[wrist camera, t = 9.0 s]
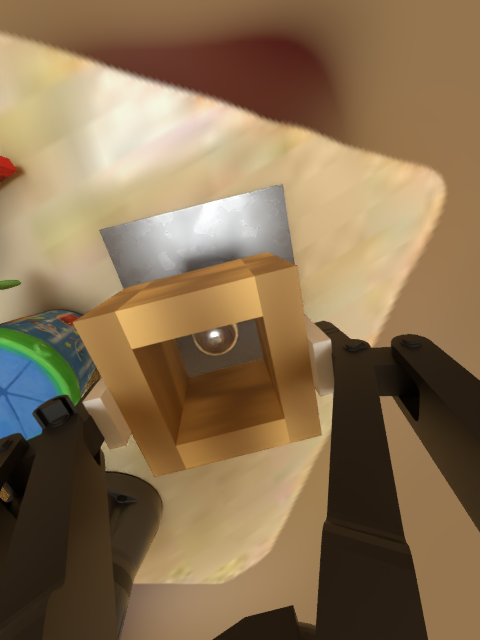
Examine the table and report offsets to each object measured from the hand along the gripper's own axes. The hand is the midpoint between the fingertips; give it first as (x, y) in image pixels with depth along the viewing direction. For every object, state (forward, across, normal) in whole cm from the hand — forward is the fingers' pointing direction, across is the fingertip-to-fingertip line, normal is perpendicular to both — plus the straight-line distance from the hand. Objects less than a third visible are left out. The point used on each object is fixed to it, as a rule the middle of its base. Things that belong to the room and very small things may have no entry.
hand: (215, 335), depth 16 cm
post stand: (+11, 0, 0) cm, 11 cm away
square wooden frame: (0, 0, 0) cm, 0 cm away
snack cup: (+11, -17, -1) cm, 21 cm away
